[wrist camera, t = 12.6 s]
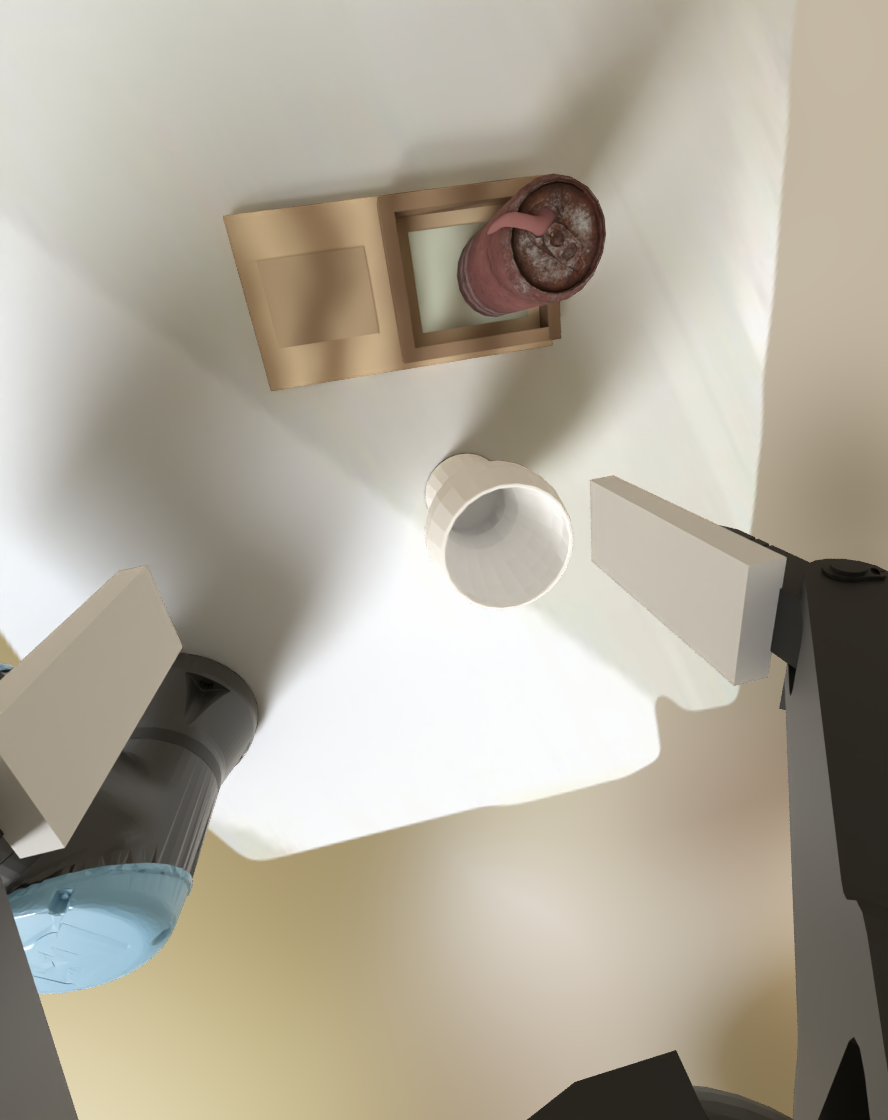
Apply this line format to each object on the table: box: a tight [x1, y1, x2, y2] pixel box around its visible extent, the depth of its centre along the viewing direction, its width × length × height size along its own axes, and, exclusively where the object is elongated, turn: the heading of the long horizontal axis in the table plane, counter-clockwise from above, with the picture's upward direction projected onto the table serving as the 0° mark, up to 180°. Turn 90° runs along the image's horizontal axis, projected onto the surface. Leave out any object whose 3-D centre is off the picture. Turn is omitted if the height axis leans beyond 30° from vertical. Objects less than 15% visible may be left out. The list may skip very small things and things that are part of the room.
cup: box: [425, 454, 573, 610], centre depth 41 cm, size 11×11×15 cm
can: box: [457, 174, 606, 317], centre depth 33 cm, size 6×6×14 cm
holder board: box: [223, 175, 561, 391], centre depth 38 cm, size 24×12×4 cm, turn 98°
